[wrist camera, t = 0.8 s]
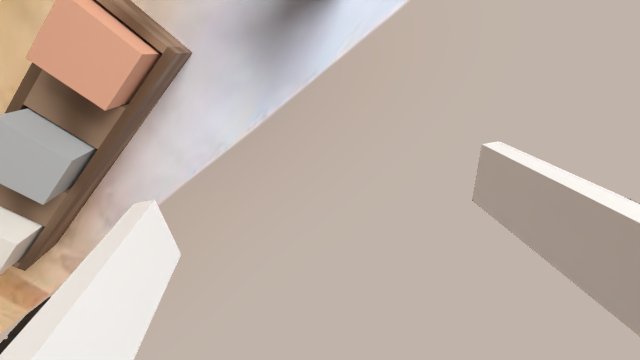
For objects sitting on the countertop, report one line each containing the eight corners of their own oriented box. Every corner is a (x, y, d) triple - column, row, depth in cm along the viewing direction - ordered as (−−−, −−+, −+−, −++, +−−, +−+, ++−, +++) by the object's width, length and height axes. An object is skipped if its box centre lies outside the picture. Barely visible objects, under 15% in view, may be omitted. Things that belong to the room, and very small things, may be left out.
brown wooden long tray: (-16, 211, 34) (-62, 236, 29) (115, -13, 26) (80, -26, 21) (56, 243, 37) (24, 270, 32) (192, 52, 29) (175, 53, 24)
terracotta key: (70, 56, 25) (25, 57, 21) (102, 1, 24) (60, -10, 19) (133, 100, 28) (105, 110, 23) (166, 53, 26) (142, 54, 22)
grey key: (17, 148, 28) (-33, 167, 24) (42, 104, 27) (-6, 116, 22) (78, 182, 30) (43, 204, 26) (104, 143, 29) (72, 160, 24)
